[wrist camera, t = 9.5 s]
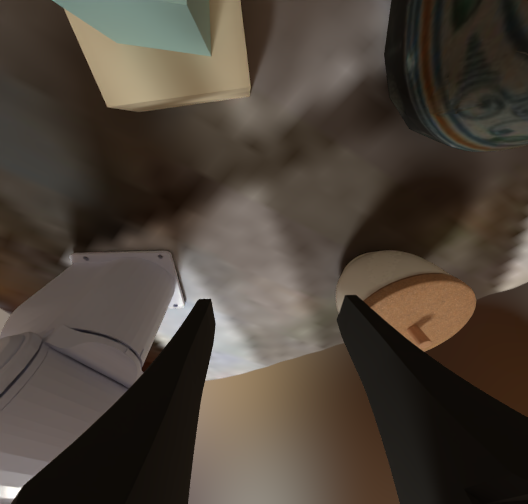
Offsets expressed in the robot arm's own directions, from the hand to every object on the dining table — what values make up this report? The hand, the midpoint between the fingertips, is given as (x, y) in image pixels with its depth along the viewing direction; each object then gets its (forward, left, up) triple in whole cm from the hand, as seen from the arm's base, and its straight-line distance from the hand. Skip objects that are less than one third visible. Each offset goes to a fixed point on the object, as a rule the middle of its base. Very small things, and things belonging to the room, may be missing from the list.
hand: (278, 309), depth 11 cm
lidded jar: (+13, -6, -11) cm, 18 cm away
